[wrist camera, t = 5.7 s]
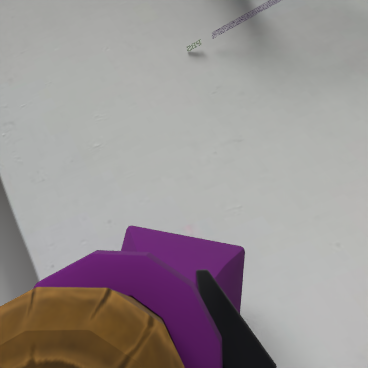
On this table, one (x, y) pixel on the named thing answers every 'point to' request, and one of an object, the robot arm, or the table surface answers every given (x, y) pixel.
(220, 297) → the robot arm
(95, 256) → the perfume bottle
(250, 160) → the table surface
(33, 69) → the table surface
